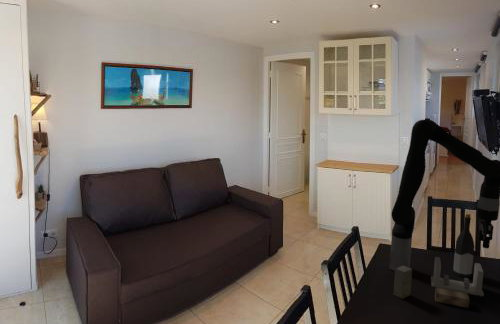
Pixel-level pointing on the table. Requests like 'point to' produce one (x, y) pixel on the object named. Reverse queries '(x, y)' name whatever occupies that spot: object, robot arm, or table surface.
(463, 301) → the brown wooden block
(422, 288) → the table surface
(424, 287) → the table surface
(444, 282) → the frame
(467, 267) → the wine bottle
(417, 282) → the table surface
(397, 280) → the skincare box
